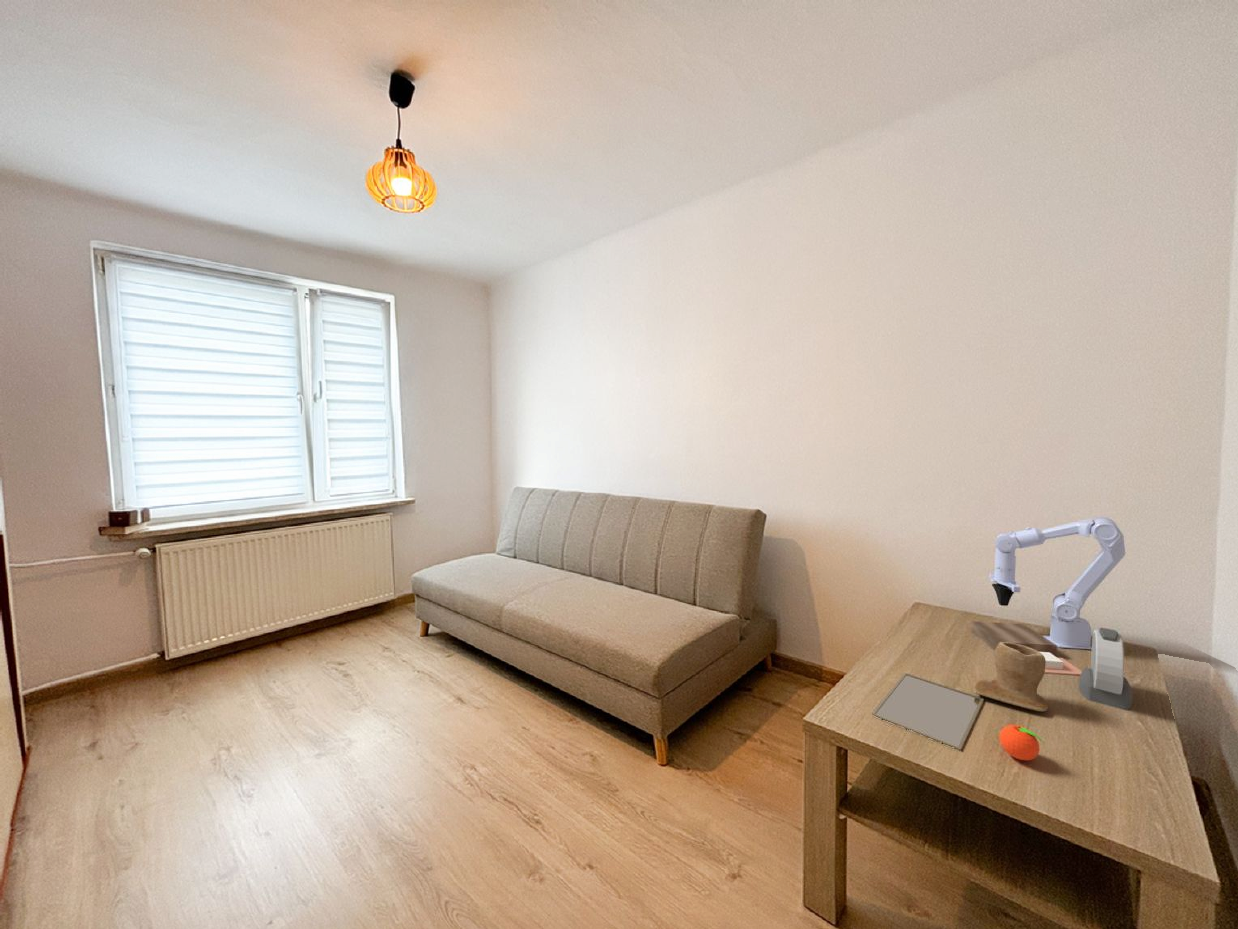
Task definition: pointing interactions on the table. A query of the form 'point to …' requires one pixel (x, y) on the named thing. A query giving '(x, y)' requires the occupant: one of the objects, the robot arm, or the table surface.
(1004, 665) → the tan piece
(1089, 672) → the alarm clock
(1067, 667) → the mat
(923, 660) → the table surface
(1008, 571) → the robot arm
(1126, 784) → the table surface
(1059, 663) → the tile
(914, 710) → the picture frame
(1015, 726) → the clementine
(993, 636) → the plate
